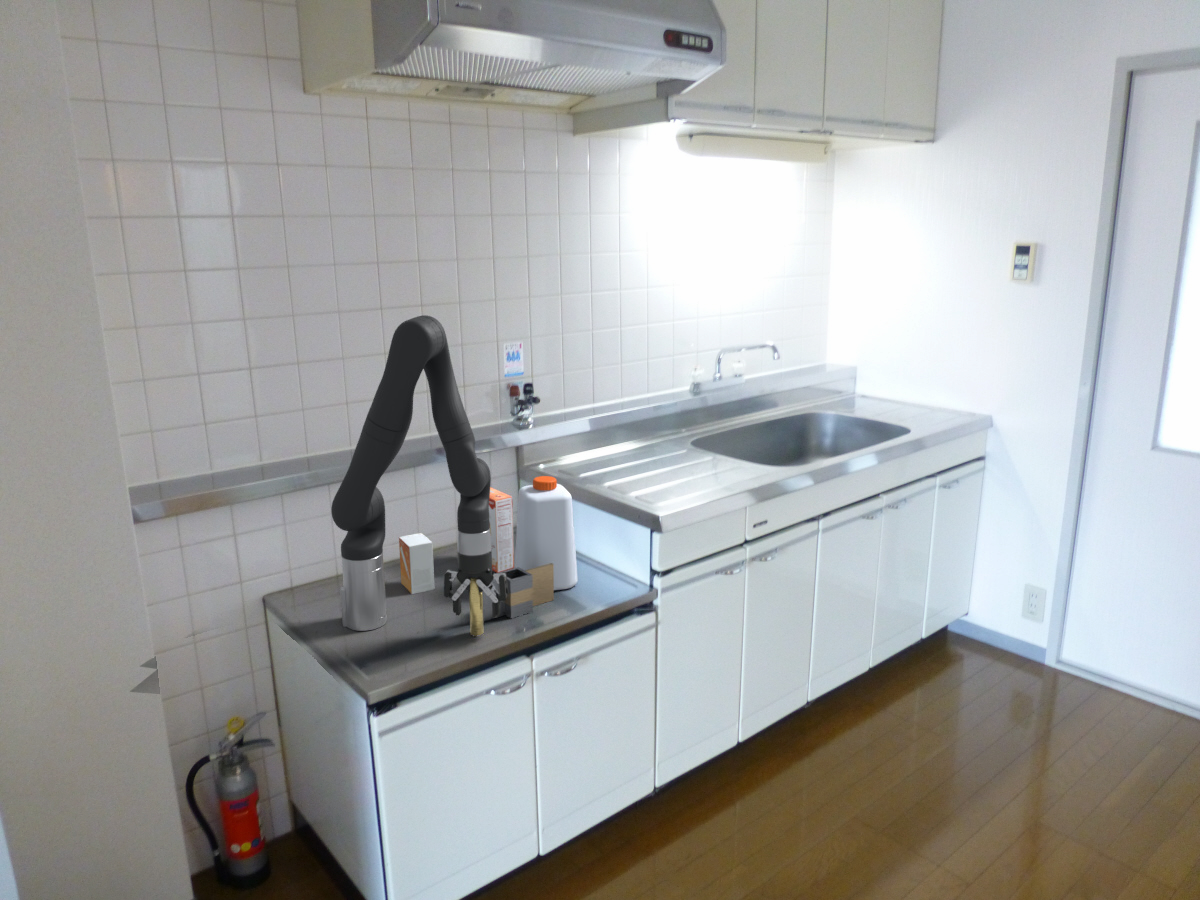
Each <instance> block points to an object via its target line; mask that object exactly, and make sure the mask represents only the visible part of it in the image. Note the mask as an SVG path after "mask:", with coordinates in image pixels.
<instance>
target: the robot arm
mask: <svg viewBox="0 0 1200 900" xmlns="http://www.w3.org/2000/svg"><path fill="white" fill-rule="evenodd" d="M390 342H391V343H390V346H389V349H388V354H387V355H388V356H387V359H386V363H385V368H384V371H383V375H382V377H381V379H380V382H379V384H378V386H377V389H376V392H375V394H374V397H373V400H372V403H371V405H370V407H369V409H368V412H367V414H366V417H365V420H364V423H363V426H362V428H361V432H360V435H359V438H358V441H357V442H356V443H357V444H356V446H355V449H354V452H353V455H352V457H351V462H350V463H349V467H348V469H347V471H346V473H345V475H344V478H343V480H342V481H341V484H340V486H339V488H338V490H337V492H336V493H335V495H334V497H333V500H332V503H331V506H330V507H331V511H330V512H331V517H332V520H333V522H334V525H335V526H337V528H339V529H340V530H341V531H343V532H344V531H345V532H346V535H345V537H344V538H343V540H342V542H341V544H340V553H341V554H340V556H341V568H342V583H343V585H341V587H340V591H339V593H340V602H341V603H340V604H341V605H340V606H341V619H342V627H344V628H348V629H350V630H353V631H358V632H359V631H360V632H362V631H372V630H377V629H379V628H381V627H383V626H385V624H386V623H387V622H388V617H387V615H388V613H387V601H386V600H387V599H386V583H385V568H384V567H385V564H384V552H383V551H384V548H383V546H384V542H385V539H386V506H385V505H386V504H385V500H384V496H383V494H382V492H381V491H380V489H379V488H378V486H377V485H378V484H379V481H380V480H381V478H382V477H383V475H384V473H385V472H386V471H387V469H388V468H389V466H390V465H391V464H392V463H393V462H394V460H395V458H396V457H397V455H398V453H399V452H400V450H401V448H402V446H403V445H404V443H405V440H406V437H407V434H408V433H409V429H410V427H411V423H412V419H413V413H414V394H415V389H416V386H417V384H418V381H419V379H420V377H421V374H422V372H423V371H424V373H425V378H426V380H427V384H428V387H429V394H430V396H429V397H430V404H431V413H432V414H431V415H432V418H433V422H434V426H435V429H436V431H437V434H438V436H439V439H440V442H441V445H442V447H443V449H444V453H445V459H446V464H447V469H448V473H449V477H450V480H451V483H452V485H453V487H454V489H455V490H456V491H457V492H458V493H459V496H460V499H459V504H458V507H457V512H456V513H457V514H456V515H457V516H456V517H457V518H456V521H457V536H456V544H457V546H456V547H457V568H458V569H457V571H455V570H453V569H452V568H449V569H447V570H446V571H445V572H444V578H443V579H444V580H443V597H445V598H446V599H447V598H450V599H451V600H452V612H453V613H454V614H455V615H456V616H460V615H461V613H462V598H461V595H462V594H463V592H464V591H465V590H466V591H467V592H468V593H469V592H470V582H471V579H470V578H474V579H477V581H476V583H477V584H478V590H479V592H482V591H484V592H485V593H486V595H487V596H489V597H490V598H491V599H492V601H493V602H492V615H493V619H495V618H496V617H497V615H499V613H500V601H505V600H506V598H507V596H508V585H507V574H506V572H502V573H501V574H497V573H495V571H493V570H492V542H491V534H490V520H489V497H490V487H491V485H492V484H491V481H492V480H491V479H492V477H491V470H490V467H489V465H488V464H487V462H485V460H483V459H482V458H479V457H477V453H476V450H475V445H476V438H475V434H474V432H473V428H472V427H471V424H470V421H469V418H468V416H467V413H466V409H465V407H464V404H463V401H462V399H461V395H460V392H459V388H458V384H457V382H456V376H455V372H454V369H453V368H454V367H453V364H452V359H451V355H450V350H449V349H450V348H449V342H448V339H447V334H446V330H445V328H444V326H443V325H442V323H441V322H440V321H439V320H438V319H436V317H433V316H431V315H423V314H422V315H418V316H415V317H412V318H410V319H406V320H405V321H403V322H401V323H400V324H399V325H398V326H397V327H396V329H395V330H394V333H393V335H392V338H391V341H390ZM455 579H457V581H458V582H459V583H460V586H459V587H458V588H457V590H456V591H455V590H453V582H454V581H455ZM493 579H495V580H496V581H497V583H498V584H499V586H500V594H499V593H498V591H497V590H496V588H495V586H494V585H493V584H492V581H493ZM497 618H498V617H497Z"/></svg>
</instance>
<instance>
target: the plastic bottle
mask: <svg viewBox="0 0 1200 900" xmlns="http://www.w3.org/2000/svg"><path fill="white" fill-rule="evenodd" d="M517 498H518V499H517V515H516V531H515V532H516V534H515V552H514V568H517V567H519V568H521V569H523V570H528V569H532V568H535V567H539V566H542V565H546V564H550V563H553V569H554V591H560V590H567V589H571V588H573V587H574V586H576V585H577V584H578V582H579V581H578V566H577V563H578V562H577V553H576V537H575V527H574V526H575V525H574V514H573V513H574V511H573V510H574V509H573V498H572V495H571V493H570V492H569V491H568V490H567V489H566V487H564V486H563V485H562V484H560V483H558V480H557V478H556V477H554V476H550V475H549V476H548V475H540V476H536V477H534V478H533V479H532V484H530V485H529V484H528V485H525V486H522V487H520V488H519V490H518V496H517Z"/></svg>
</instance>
